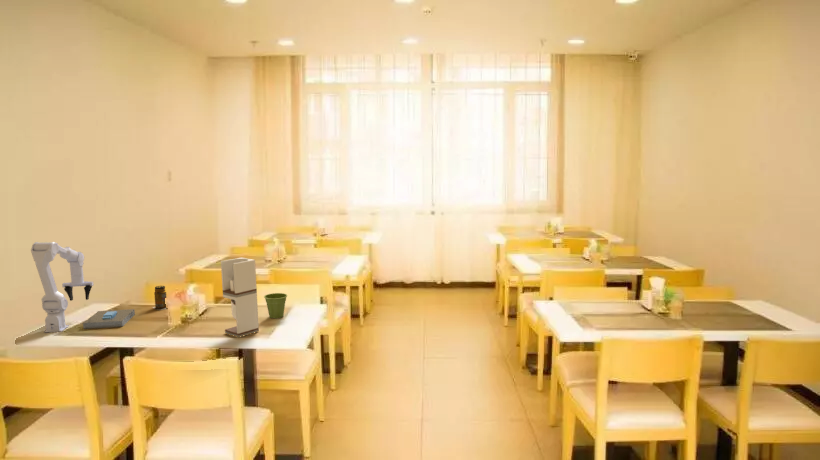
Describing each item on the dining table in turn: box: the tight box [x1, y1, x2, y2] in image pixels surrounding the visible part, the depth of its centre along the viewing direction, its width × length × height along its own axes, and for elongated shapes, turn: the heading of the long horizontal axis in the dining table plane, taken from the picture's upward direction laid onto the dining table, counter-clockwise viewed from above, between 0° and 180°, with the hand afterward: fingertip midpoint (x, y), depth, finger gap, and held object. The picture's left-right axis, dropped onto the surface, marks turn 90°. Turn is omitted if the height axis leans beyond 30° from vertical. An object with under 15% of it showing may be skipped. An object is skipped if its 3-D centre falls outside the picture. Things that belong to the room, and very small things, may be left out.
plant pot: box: [263, 292, 288, 319], centre depth 311 cm, size 12×12×11 cm
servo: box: [102, 311, 117, 319], centre depth 307 cm, size 11×4×4 cm, turn 9°
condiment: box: [152, 285, 167, 311], centre depth 331 cm, size 7×8×12 cm
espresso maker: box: [220, 257, 260, 338], centre depth 283 cm, size 11×11×35 cm
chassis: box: [82, 308, 136, 330], centre depth 307 cm, size 22×18×3 cm
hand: (79, 299), depth 315 cm, fingers open, 7 cm apart
